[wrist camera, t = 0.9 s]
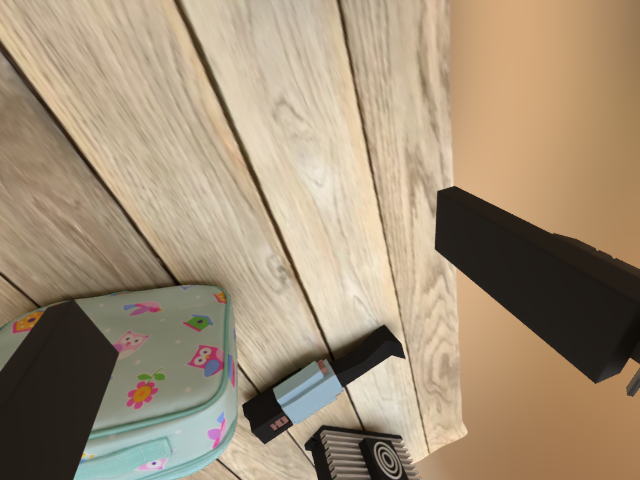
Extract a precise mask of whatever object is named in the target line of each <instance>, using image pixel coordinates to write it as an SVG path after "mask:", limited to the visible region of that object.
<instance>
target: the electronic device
mask: <svg viewBox="0 0 640 480" xmlns="http://www.w3.org/2000/svg"><path fill="white" fill-rule="evenodd" d="M313 436H314V438H310V439H309V440H308V442H307V443H306V444H305V450H307V451H311V452H312V456H313V460H314V464H315V469H316V473H317V477H318V480H420V479H422V478H421V477H416V476H415V475H416V474H418V473H419V472H418V471H413V469H414V468H415V467H416V466H415V465H410V463H412V462H413V459H407V458H408V457H409V456H411V455H410V454H406V453H405V452H406V451H408V449H406V448H403V447H404V446H405V443H400V442H401V441H402V440H403V439H402V437H401V436H399V435H392V434H384V433H377V432H369V431H362V430H354V429H347V428H339V427H332V426H324V425H322V426H321V427H320V429H319V430H318V431H317V432H316V433H315V434H314V435H313Z"/></svg>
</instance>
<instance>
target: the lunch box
mask: <svg viewBox="0 0 640 480" xmlns="http://www.w3.org/2000/svg"><path fill="white" fill-rule="evenodd" d="M68 301H70V300H68ZM75 301H76V303H77V304H78V305H79V306H80V307H81V308H82V310H83V311H84V312H85V313H86V314H87V316H88V317H89V318H90V319H91V320H92V321H93V323H94V324H95V325H96V326H97V327H98V328H99V330H100V331H101V332H102V333H103V334H104V336H105V337H106V338H107V339H108V340H109V341H110V343H111V344H112V345H113V346H114V347H115V349H116V350H117V351H118V352H119V356H118V359H117V361H116V364H115V367H114V370H113V372H112V375H111V378H110V381H109V383H108V386H107V389H106V392H105V394H104V397H103V400H102V403H101V405H100V408H99V411H98V414H97V416H96V419H95V422H94V425H93V427H92V430H91V433H90V436H89V438H88V441H87V444H86V447H85V449H84V452H83V455H82V458H81V460H80V463H79V466H78V469H77V471H76V474H75V477H74V480H176V479H180V478H183V477H186V476H188V475H191V474H193V473H195V472H197V471H199V470H201V469H203V468H204V467H206V466H207V465H209V464H210V463H212V462H213V461H214V460H215V459H217V458H218V457H219V456H220V455H221V454H222V453H223V452H224V451H225V449H226V448H227V446H228V445H229V443H230V441H231V439H232V437H233V435H234V432H235V428H236V424H237V415H238V377H237V345H236V334H235V322H234V314H233V308H232V303H231V299H230V296H229V294H228V293H227V292H226V291H225V290H224V289H222V288H219V287H216V286H208V285H181V286H172V287H165V288H158V289H152V290H144V291H131V292H129V291H122V292H116V293H112V294H109V295H104V296H98V297H91V298H84V299H76V300H75ZM63 302H66V301H62V302H58V303H54V304H51V305H47V306H44V307H41V308H38V309H36V310H33V311H31V312H29V313H26V314H23V315H21V316H19V317H17V318H16V319H14V320H12V321H10V322H8V323H7V324H5V325H4V326H2V327H1V328H0V371H1V370H2V368H3V367H4V366H5V364H6V363H7V362H8V360H9V359H10V357H11V356H12V355H13V353H14V352H15V351H16V349H17V348H18V347H19V345H20V344H21V343H22V341H23V340H24V338H25V337H26V336H27V334H28V333H29V332H30V330H31V329H32V328H33V326H34V325H35V324H36V322H37V321H38V320H39V318H40V317H41V315H42V314H43V313H44V311H45V310H46V309H47V307H49V306H53V305H56V304H59V303H63Z"/></svg>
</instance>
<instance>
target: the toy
mask: <svg viewBox="0 0 640 480" xmlns="http://www.w3.org/2000/svg"><path fill="white" fill-rule="evenodd" d="M391 355H393V356H396V357H400V358H404V359H406V358H405V355H404V351H403V347H402V344H401V343H400V342H399V340H398V339H397V338H396V337H395V336H394V335H393V334H392V333H391V332H390V330H389V329H388V328H387V327H386V326H385V325H384V326H382V327H380V328H379V329H377V330H376V331H375V332H374V333H373V334H372V335H371V336H370V337H369V338H368V339H367V340H366V341H365V342H364V343H363V344H362V345H361V346H360V347H359V348H358V349H357V350H355V351H353V352H351V353H349V354H347V355H345V356H342V357H340V358H338V359H336V360H334V361H332V362H329V363H328V361H327V359H325V360H324V361H322V359H321V360H320V361H318V362H316V361H314V362H312V363H311V364H309V365H308V366H307V367H305V368H304V369H302V370H301V368H299V369H298V370H296V371H295V372H293V373H292V374H290V375H288V376H287V377H285V378H284V379H282V380H281V381H279V382H277V383H276V384H274V385H273V386H271V387H270V388H268V389H266V390H265V391H263V392H262V393H260V394H259V395H257V396H255V397H254V398H252V399H251V400H249V401H248V402H246V403H244V404H243V405H242V407H243V412H244V416H245V417H246V418H247V419H248V420H249V422H250V427H251V431H252V433H253V434H254V435H255V436H256V437H258V438H259V439H260V440H261V441H262V442H263V443H264V444H266V443H267V442H269V441H270V440H272V439H273V438H275V437H276V436H278V435H279V434H281V433H282V432H284V431H285V430H287V429H288V428H290V427H291V426H293V423H295V424H296V425H297V424H299V423H300V422H302V421H303V420H305V419H306V418H308V417H309V416H311V415H312V414H314V413H315V412H317V411H318V410H320V409H321V408H323V407H324V406H326V405H328V404H329V403H331V402H333V401H334V400H336V399H337V398H336V396H338V395H339V394H341V392H343V391H344V390H343V387H344V386H346V385H347V384H349V383H350V382H352V381H353V380H355V379H356V378H358V377H360V376H361V375H363V374H364V373H366V372H367V371H369V370H370V369H372V368H373V367H375V366H376V365H378V364H379V363H381V362H382V361H384V360H385V359H387V358H388V357H390V356H391ZM290 419H291V420H292V421H291V420H290ZM292 422H293V423H292Z"/></svg>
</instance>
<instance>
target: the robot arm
mask: <svg viewBox="0 0 640 480" xmlns="http://www.w3.org/2000/svg"><path fill="white" fill-rule="evenodd" d="M435 250H436V251H438V252H439V253H440V254H441V255H442V256H444V257H445V258H446V259H447V260H448V261H450V262H451V263H452V264H453V265H454V266H455V267H457V268H458V269H459V270H460V271H461V272H463V273H464V274H465V275H466V276H467V277H469V278H470V279H471V280H472V281H473V282H475V283H476V284H477V285H478V286H479V287H481V288H482V289H483V290H484V291H485V292H487V293H488V294H489V295H490V296H491V297H492V298H494V299H495V300H496V301H497V302H498V303H500V304H501V305H502V306H503V307H504V308H506V309H507V310H508V311H509V312H510V313H512V314H513V315H514V316H515V317H516V318H518V319H519V320H520V321H521V322H522V323H523V324H525V325H526V326H527V327H528V328H529V329H531V330H532V331H533V332H534V333H535V334H537V335H538V336H539V337H540V338H541V339H543V340H544V341H545V342H546V343H547V344H549V345H550V346H551V347H552V348H553V349H555V350H556V351H557V352H558V353H559V354H561V355H562V356H563V357H564V358H565V359H566V360H568V361H569V362H570V363H571V364H573V365H574V366H575V367H576V368H577V369H578V370H580V371H581V372H582V373H583V374H584V375H586V376H587V377H588V378H589V379H590V380H592V381H593V382H594V383H595V384H596V383H599V382H601V381H603V380H605V379H607V378H610V377H612V376H614V375H616V374H619V373H620V372H621V370H622V369H623V367H624V366H625V364H626V363H627V361H628V359H629V358H632V359H633V360H635V361H636V362H637V363H639V364H640V269H638V268H636V267H634V266H632V265H630V264H627V263H625V262H623V261H621V260H619V259H617V258H615V259H613V258H612V256H611V255H609V254H607V253H604V252H602V251H600V250H599V251H597V250H596V248H594V247H592V246H590V245H587V244H585V243H583V242H581V241H579V240H577V239H574V238H570V237H567V236H563V235H559V234H555V233H554V234H551V233H549V232H547V231H545V230H543V229H541V228H539V227H537V226H535V225H533V224H531V223H529V222H527V221H525V220H523V219H521V218H519V217H517V216H515V215H513V214H511V213H509V212H507V211H505V210H503V209H500V208H499V207H497V206H495V205H492V204H490V203H488V202H486V201H484V200H482V199H480V198H478V197H476V196H474V195H472V194H470V193H468V192H466V191H464V190H462V189H460V188H458V187H456V186H453V187H450V188H446V189H443V190H439V191H437V212H436V233H435ZM118 356H119V352H118V351H117V350H116V349H115V347H114V346H113V345H112V344H111V343H110V341H109V340H108V339H107V338H106V337H105V336H104V334H103V333H102V332H101V331H100V330H99V328H98V327H97V326H96V325H95V324H94V323H93V321H92V320H91V319H90V318H89V317H88V316H87V314H86V313H85V312H84V311H83V310H82V308H81V307H80V306H79V305H78V304H77V303H76V301H75V300H74V299H73V300H70V301H66V302H63V303H59V304H56V305H53V306H49V307H47V309H46V310H45V311H44V313H43V314H42V315H41V317H40V318H39V320H38V321H37V322H36V324H35V325H34V326H33V328H32V329H31V330H30V332H29V333H28V334H27V336H26V337H25V338H24V340H23V341H22V343H21V344H20V345H19V347H18V348H17V349H16V351H15V352H14V353H13V355H12V356H11V357H10V359H9V360H8V362H7V363H6V364H5V366H4V367H3V368H2V370H1V371H0V480H74V477H75V474H76V471H77V469H78V466H79V463H80V460H81V458H82V455H83V452H84V449H85V447H86V444H87V441H88V438H89V436H90V433H91V430H92V427H93V425H94V422H95V419H96V416H97V414H98V411H99V408H100V405H101V403H102V400H103V397H104V394H105V392H106V389H107V386H108V383H109V381H110V378H111V375H112V372H113V370H114V367H115V364H116V361H117V359H118ZM639 388H640V368H639V370H638V371H637V373H636V374H635V375H634V377H633V378H632V380H631V381H630V383H629V384H628V386H627V388H626V389H627V395H629V396H632V397H633V396H634V395H635V393H636V392H637V391H638V389H639Z"/></svg>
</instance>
